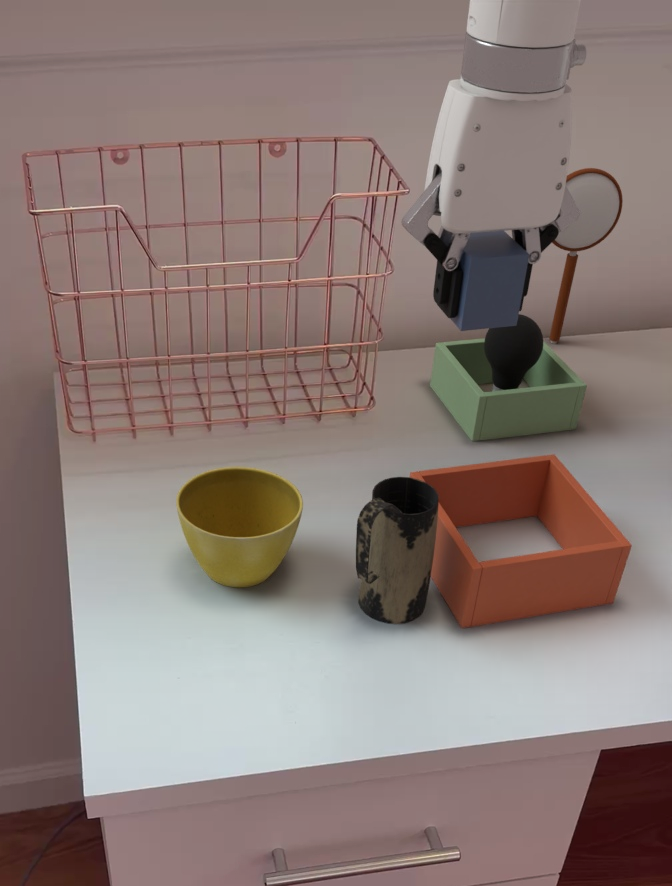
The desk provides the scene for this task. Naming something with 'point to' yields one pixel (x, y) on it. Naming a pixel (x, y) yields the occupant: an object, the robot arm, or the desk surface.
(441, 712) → the desk surface
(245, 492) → the yellow bowl
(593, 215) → the magnifying glass
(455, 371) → the bulb bin
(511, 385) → the light bulb
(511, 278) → the block
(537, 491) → the block bin
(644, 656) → the desk surface
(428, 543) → the mug
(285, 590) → the desk surface
